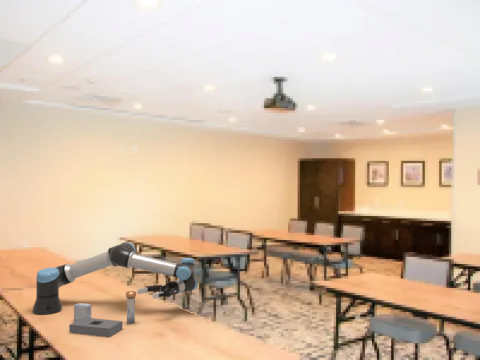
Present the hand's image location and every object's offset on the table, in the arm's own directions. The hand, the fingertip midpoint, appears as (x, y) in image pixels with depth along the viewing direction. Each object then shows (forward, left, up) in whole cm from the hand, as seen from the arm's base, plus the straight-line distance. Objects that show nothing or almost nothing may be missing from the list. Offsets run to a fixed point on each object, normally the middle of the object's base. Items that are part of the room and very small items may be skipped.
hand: (145, 294), depth 238 cm
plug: (-4, -9, -13) cm, 16 cm away
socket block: (-14, -25, -13) cm, 31 cm away
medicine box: (-30, -13, -14) cm, 35 cm away
